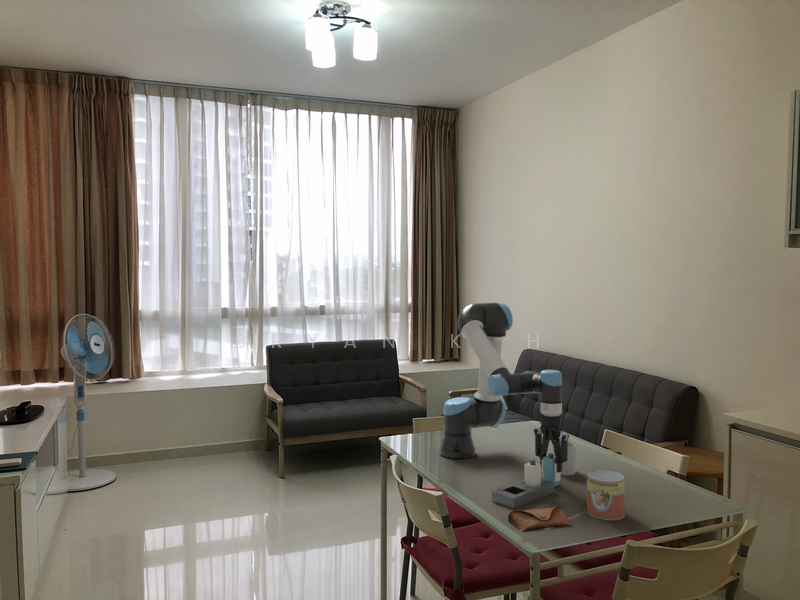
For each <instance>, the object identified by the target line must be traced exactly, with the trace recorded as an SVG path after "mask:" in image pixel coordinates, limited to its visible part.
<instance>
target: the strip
mask: <svg viewBox="0 0 800 600" xmlns="http://www.w3.org/2000/svg"><path fill="white" fill-rule="evenodd" d="M554 493H555V487H554V483H553V482H550V481H547V480H543V478H541V485H540V486H537V487H535V488H534V487H531V486H528V485H525V484H524V479H522V480H518V481H516V482H513V483H511V484H508V485H505V486H502V487H499V488H497V489H494V490H492V491H491V502H493V503H495V504H498V505H501V506H504V507H507V508H510V509H512V510H515V509H517V508H520V507H522V506H525V505H527V504H529V503H532V502H535V501H537V500H539V499H542V498H545V497H547V496H549V495H552V494H554Z"/></svg>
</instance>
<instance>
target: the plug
mask: <svg viewBox="0 0 800 600" xmlns="http://www.w3.org/2000/svg"><path fill="white" fill-rule="evenodd" d="M555 462H556V458H555V456H554V454H553V452H552V453H551V452H550V453H548V455H546V456H545V457H543V478H542V479H543V480H547V481H550V482H553V483H554V488H555V487H557V486H560V480H559V481H557V482H555V481H554V463H555Z"/></svg>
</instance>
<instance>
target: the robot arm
mask: <svg viewBox="0 0 800 600" xmlns="http://www.w3.org/2000/svg"><path fill="white" fill-rule="evenodd" d="M513 322H514V321H513V313H512V311H511V309H510V307H509V306H508V305H507V304H505V303H502V302H483V303H481V302H480V303H470V304H467V305H466V306H464V307H463V308H462V310H461V311H460V312H459V315H458V317H457V328H458V332H459V333H460V335H461V336H462V338H464V339H465V340H467V341H468V343H469V345H470V347H471V348H472V350H473V352H474V354H475V355H476V357H477V358H478V361H479V367H478V368H479V369H478V379H477V380H478V381H477V391H476V392H475V393H474V394H473V400H472V399H471V398H469V397H468V396H467V397H466V396H464V397H463V396H462V397H461V396H460V397H459V396H458V397H453V398H450V399H448V400H446V401H445V402H444V405H443V411H442V413H443V438H442V442H441V445H440V448H439V454H440V453H441V454H442V455H444V456H447V457H452V458H451V459H453V458H465V459H470V458H473V457H475V456H476V455H477V453H476V447H475V443H474V440H473V438H472V429H476V428H477V429H478V428H487V427H490V428H491V427H495V426H499V425H500V424H502V423H503V422H504V419H505V417H506V413H507V411H506V410H507V409H506V404H505V401H504V400H503V399H502V397H505V396H511V395H512V396H513V395H524V394H527V395H528V394H537V395H539V399H540V402H539V404H540V405H539V408H540V409H539V410H540V411H539V412H540V415H539V417H540V418H539V421H540V422H539V423H540V426H539V427H536V428H534V429H533V433H534V437H535V438H534V440H535V441H534V443H535V446H534V450H535V451H534V453H535V454H534V455H535V456H536V457H538V458H539V462H540V463H539V464H541V479H543V457H545V456H548V455H547V454H548V449H549V446H550V445H549V444H550V441H551V444H552V449H553V448H554V453H555V458H556V462H555V463H554V481H555V482H557V481H559V482H560V481H561V476H562V475H561V472H562V463H563V462H566V461H567V457H568V442H569V438H570V434H568V433H567V434H566V433H565V432H563V429H562V425H563V415H562V414H563V402H562V401H563V377H562V372H561V371H560V370H557V369H556V370H555V369H543V370H541V371H540V372H537V371H534V370H526V371H524V372H522V373H511V372H510V370H509V369H508V368H507V366H506V364H505V362H504V361H503V359H502V357H501V354H502V353H501V352H502V340H503V339H504V338H505V337H506V335H507V331H510V330H511V328H512V327H513ZM560 442H561V447H560ZM475 454H476V455H475ZM442 455H441V456H442ZM444 456H443V457H444ZM447 457H446V458H447Z"/></svg>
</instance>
